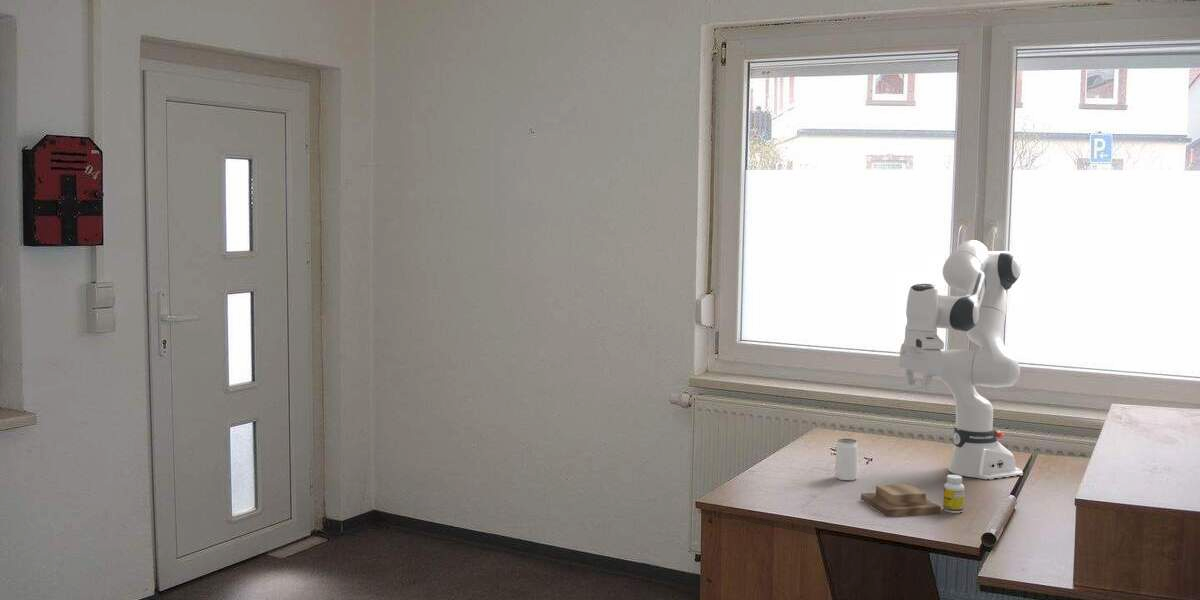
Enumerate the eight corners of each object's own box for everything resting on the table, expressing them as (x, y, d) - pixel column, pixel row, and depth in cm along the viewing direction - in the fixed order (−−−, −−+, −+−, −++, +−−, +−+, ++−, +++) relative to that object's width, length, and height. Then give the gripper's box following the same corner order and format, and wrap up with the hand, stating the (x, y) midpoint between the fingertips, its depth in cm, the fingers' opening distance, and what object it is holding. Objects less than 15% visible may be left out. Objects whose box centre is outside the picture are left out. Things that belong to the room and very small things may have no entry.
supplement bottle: (939, 508, 293) (941, 473, 292) (958, 507, 293) (960, 473, 292) (947, 513, 287) (949, 479, 286) (966, 513, 288) (968, 478, 287)
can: (857, 481, 319) (858, 443, 318) (835, 480, 321) (836, 442, 320) (856, 476, 326) (857, 438, 325) (835, 475, 327) (836, 437, 326)
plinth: (912, 497, 303) (912, 480, 302) (940, 513, 287) (941, 495, 287) (860, 500, 300) (861, 483, 299) (886, 516, 284) (887, 498, 283)
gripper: (895, 336, 312) (892, 381, 313) (926, 343, 292) (923, 392, 293) (914, 336, 313) (912, 382, 314) (947, 344, 293) (944, 392, 293)
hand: (918, 387), depth 303 cm, fingers open, 8 cm apart
